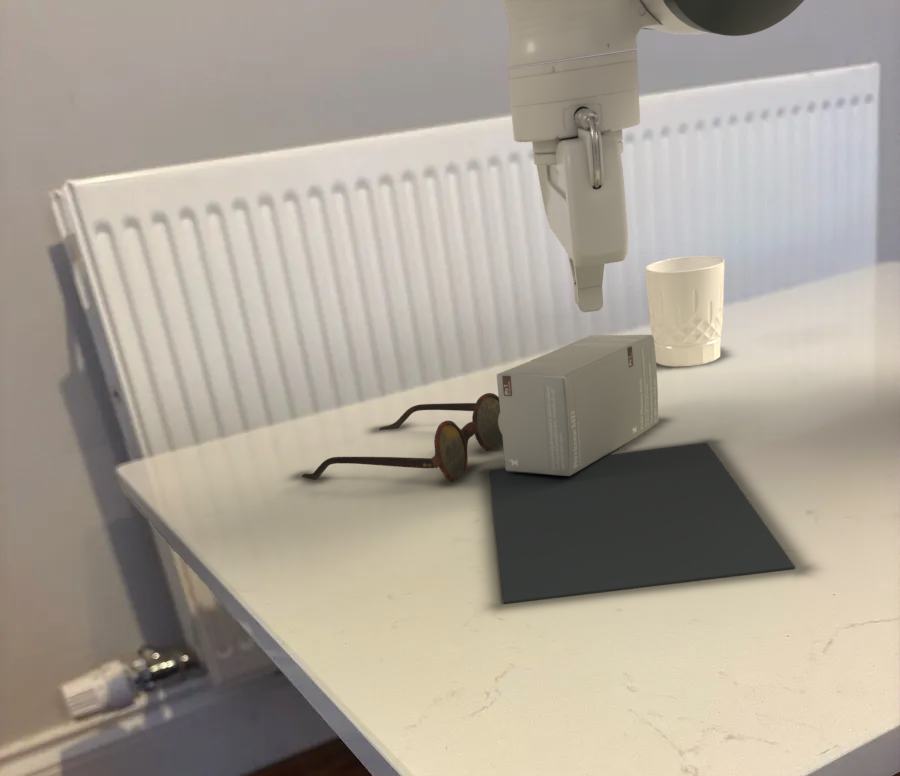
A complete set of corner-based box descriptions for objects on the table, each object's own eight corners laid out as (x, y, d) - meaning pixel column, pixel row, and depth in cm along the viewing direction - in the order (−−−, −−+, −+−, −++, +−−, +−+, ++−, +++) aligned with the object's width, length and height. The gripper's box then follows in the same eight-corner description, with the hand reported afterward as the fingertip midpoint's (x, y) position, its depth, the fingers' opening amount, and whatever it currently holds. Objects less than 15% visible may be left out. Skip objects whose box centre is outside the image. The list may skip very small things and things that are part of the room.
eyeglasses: (441, 496, 83) (432, 437, 81) (296, 484, 90) (284, 430, 88) (519, 435, 94) (513, 382, 92) (384, 429, 101) (375, 379, 99)
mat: (707, 448, 85) (706, 442, 84) (795, 575, 63) (795, 566, 63) (490, 476, 86) (489, 470, 85) (504, 610, 64) (503, 601, 64)
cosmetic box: (661, 423, 91) (580, 484, 80) (589, 420, 95) (502, 478, 84) (656, 328, 88) (570, 377, 76) (581, 329, 92) (489, 375, 80)
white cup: (634, 367, 109) (628, 270, 104) (680, 348, 113) (676, 254, 109) (695, 375, 103) (692, 273, 99) (741, 355, 108) (740, 256, 103)
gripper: (645, 103, 62) (655, 332, 68) (600, 97, 80) (612, 278, 86) (541, 118, 62) (560, 345, 68) (520, 109, 80) (537, 288, 87)
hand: (589, 307), depth 77 cm, fingers closed
